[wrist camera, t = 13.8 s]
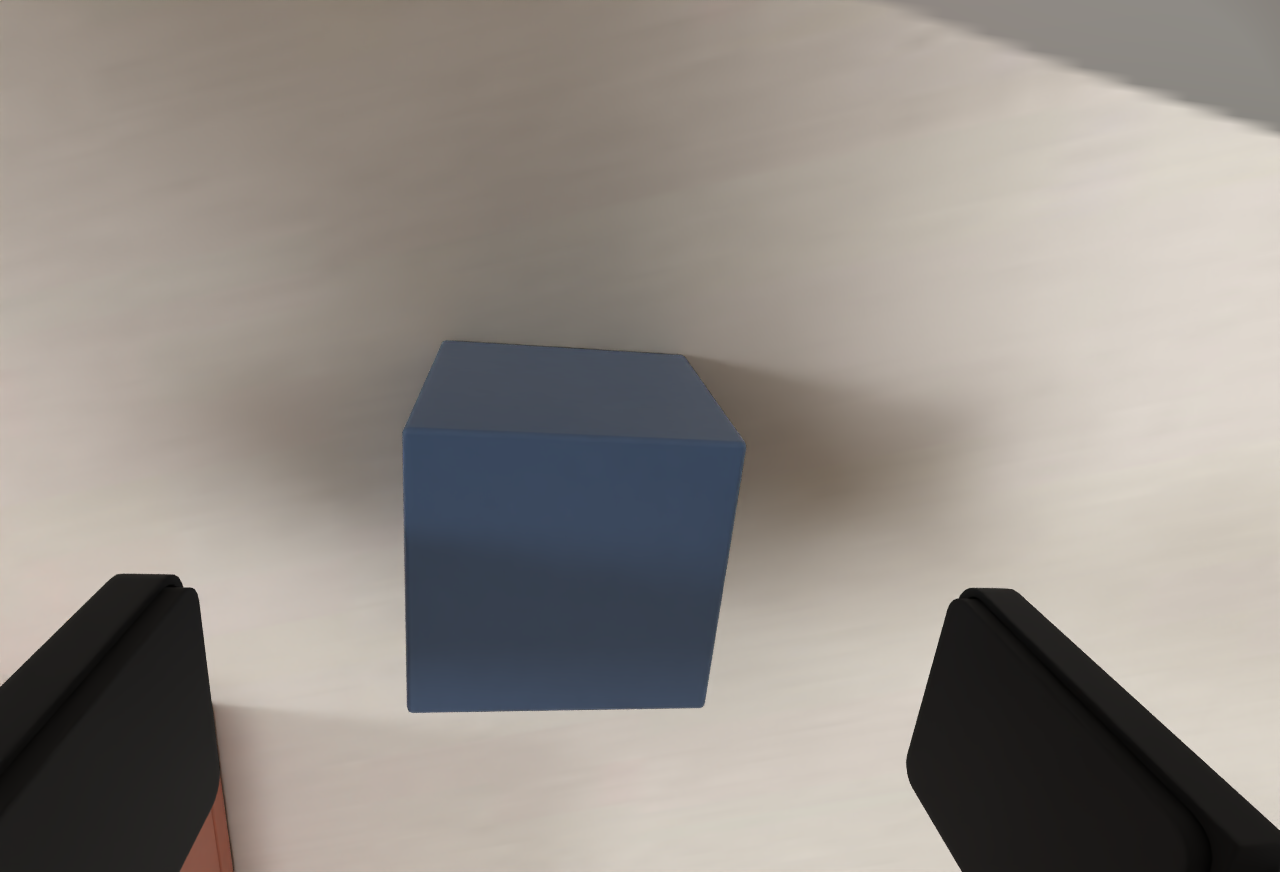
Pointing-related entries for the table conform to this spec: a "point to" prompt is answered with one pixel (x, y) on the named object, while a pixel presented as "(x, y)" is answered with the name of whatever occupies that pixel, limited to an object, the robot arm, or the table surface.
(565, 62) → the table surface
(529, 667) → the slate block
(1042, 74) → the table surface
